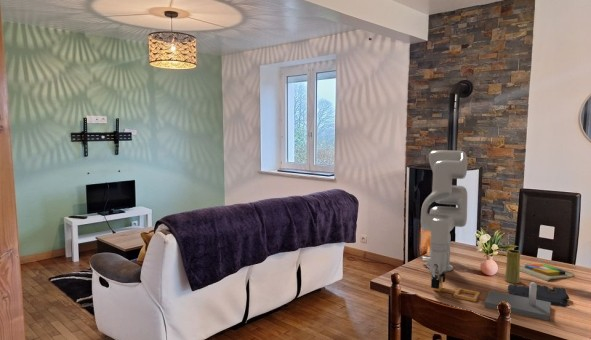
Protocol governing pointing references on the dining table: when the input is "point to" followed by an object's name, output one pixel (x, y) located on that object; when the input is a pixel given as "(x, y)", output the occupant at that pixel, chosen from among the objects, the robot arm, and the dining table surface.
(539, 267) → the wooden puzzle
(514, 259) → the vase
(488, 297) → the keeper board
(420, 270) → the dining table surface
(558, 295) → the dark slate chunk
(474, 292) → the link
